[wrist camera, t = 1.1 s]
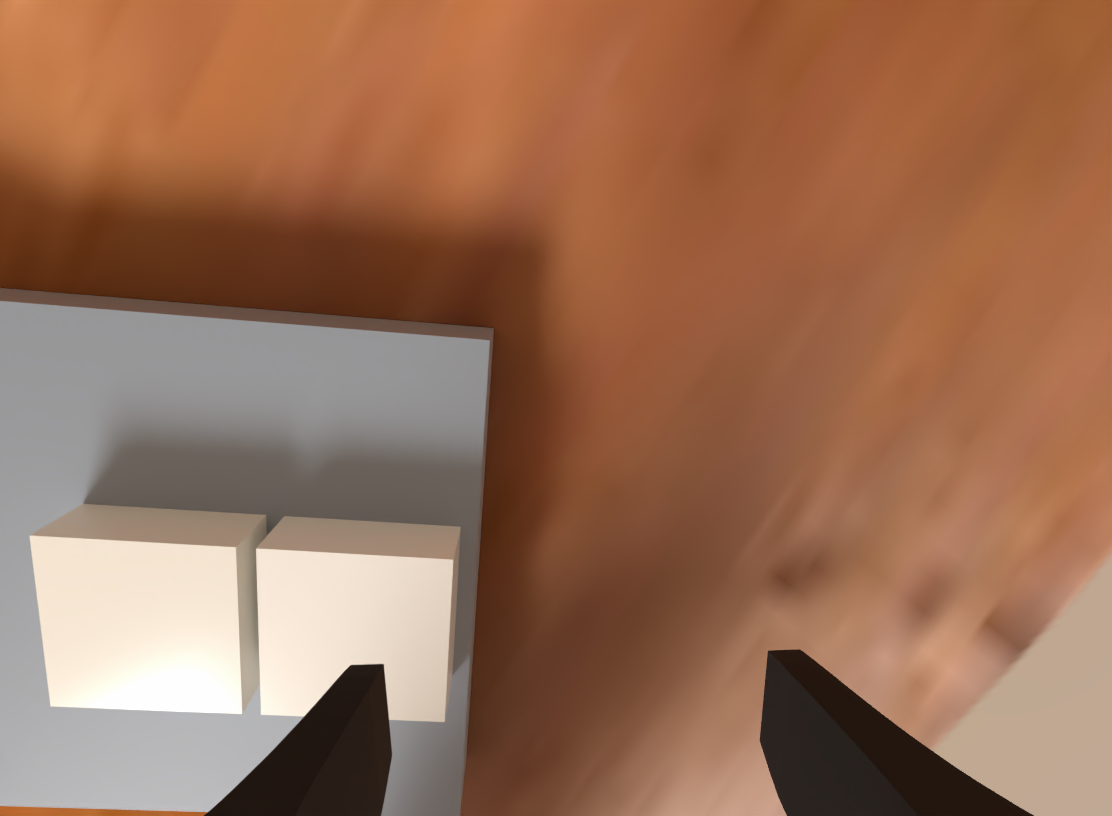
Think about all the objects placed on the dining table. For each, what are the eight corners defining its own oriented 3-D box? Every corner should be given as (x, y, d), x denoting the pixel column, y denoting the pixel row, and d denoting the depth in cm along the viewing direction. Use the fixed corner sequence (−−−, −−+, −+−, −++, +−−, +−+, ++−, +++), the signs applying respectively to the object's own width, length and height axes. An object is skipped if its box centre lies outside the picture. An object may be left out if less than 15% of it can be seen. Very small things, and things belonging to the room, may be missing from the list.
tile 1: (452, 675, 20) (444, 722, 18) (287, 668, 20) (260, 714, 18) (460, 526, 19) (453, 559, 17) (284, 516, 18) (255, 548, 16)
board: (466, 760, 24) (459, 819, 21) (39, 745, 23) (-19, 805, 20) (494, 328, 20) (490, 340, 17) (-22, 286, 19) (-102, 292, 16)
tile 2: (270, 667, 20) (242, 714, 18) (98, 659, 19) (50, 706, 17) (266, 514, 18) (236, 547, 16) (82, 503, 18) (29, 535, 16)
